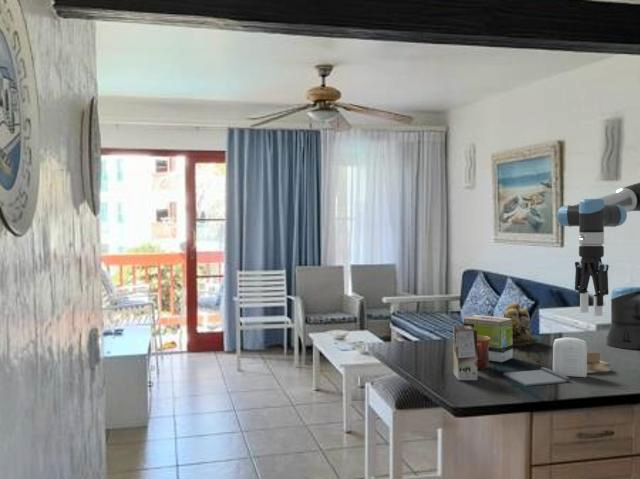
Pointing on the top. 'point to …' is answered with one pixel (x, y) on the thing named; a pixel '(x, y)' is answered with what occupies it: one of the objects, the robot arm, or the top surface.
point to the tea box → (494, 335)
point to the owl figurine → (519, 325)
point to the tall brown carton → (593, 357)
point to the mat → (537, 377)
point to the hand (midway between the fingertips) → (590, 313)
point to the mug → (483, 351)
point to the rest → (598, 367)
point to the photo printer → (570, 357)
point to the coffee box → (465, 352)
